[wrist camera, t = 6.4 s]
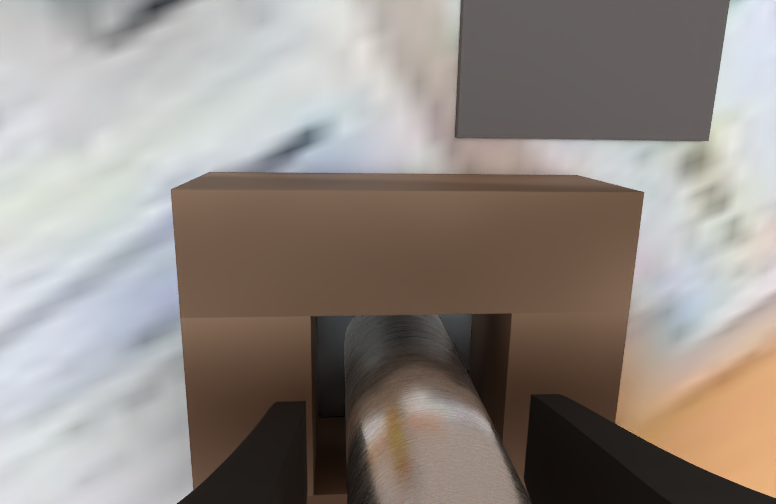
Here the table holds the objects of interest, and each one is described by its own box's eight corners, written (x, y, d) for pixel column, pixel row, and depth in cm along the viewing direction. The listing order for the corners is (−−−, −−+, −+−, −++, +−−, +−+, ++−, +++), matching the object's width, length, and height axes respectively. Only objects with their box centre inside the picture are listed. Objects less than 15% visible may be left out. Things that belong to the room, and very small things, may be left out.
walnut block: (546, 488, 18) (595, 575, 15) (228, 501, 17) (201, 598, 14) (577, 175, 16) (644, 192, 12) (209, 172, 15) (170, 189, 11)
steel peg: (442, 391, 17) (554, 689, 8) (342, 390, 16) (345, 699, 8) (450, 296, 16) (581, 509, 7) (345, 293, 16) (353, 513, 7)
